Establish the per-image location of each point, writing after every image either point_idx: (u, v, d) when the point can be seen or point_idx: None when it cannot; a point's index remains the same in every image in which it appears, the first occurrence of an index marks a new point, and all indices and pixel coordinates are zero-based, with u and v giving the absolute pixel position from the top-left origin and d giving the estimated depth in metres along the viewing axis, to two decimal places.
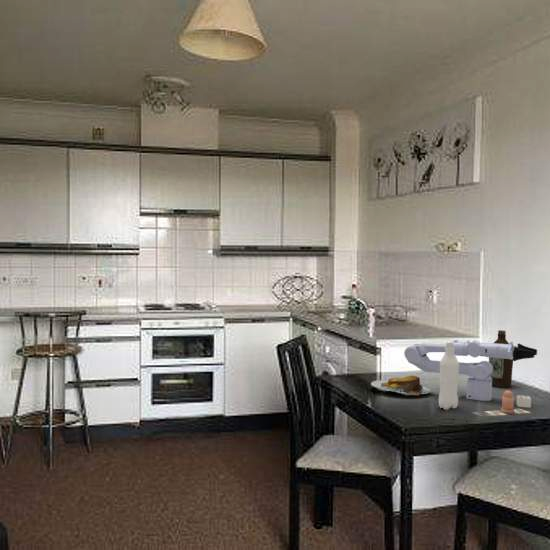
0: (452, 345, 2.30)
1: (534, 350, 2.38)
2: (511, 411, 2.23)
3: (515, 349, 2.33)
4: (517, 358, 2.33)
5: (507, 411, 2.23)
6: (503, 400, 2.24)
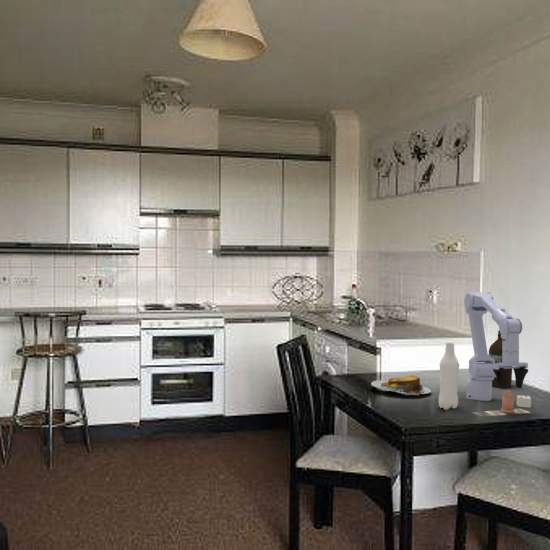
0: (452, 345, 2.30)
1: (519, 385, 2.25)
2: (511, 411, 2.23)
3: (501, 372, 2.21)
4: (495, 372, 2.24)
5: (507, 411, 2.23)
6: (503, 400, 2.24)
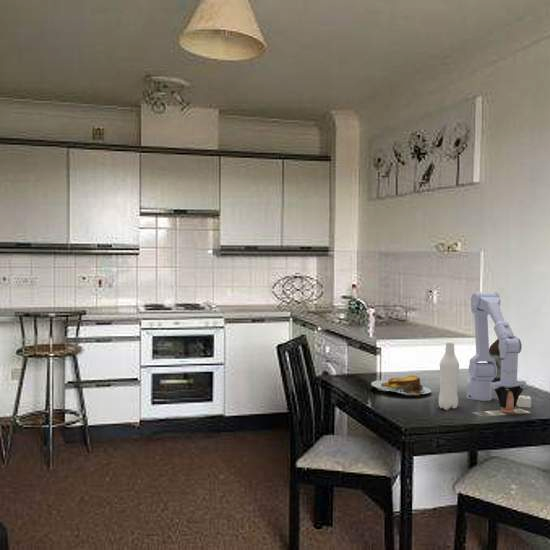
0: (452, 345, 2.30)
1: None
2: (511, 411, 2.23)
3: (501, 391, 2.22)
4: (496, 391, 2.25)
5: (507, 411, 2.23)
6: None
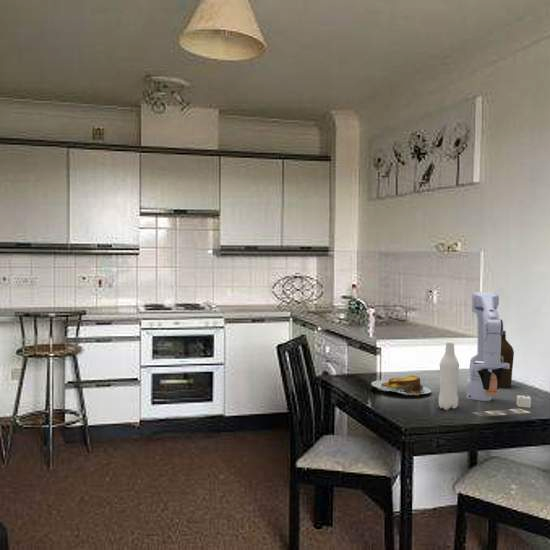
0: (452, 345, 2.30)
1: None
2: (494, 393, 2.20)
3: (484, 373, 2.18)
4: (479, 373, 2.22)
5: (490, 393, 2.20)
6: None
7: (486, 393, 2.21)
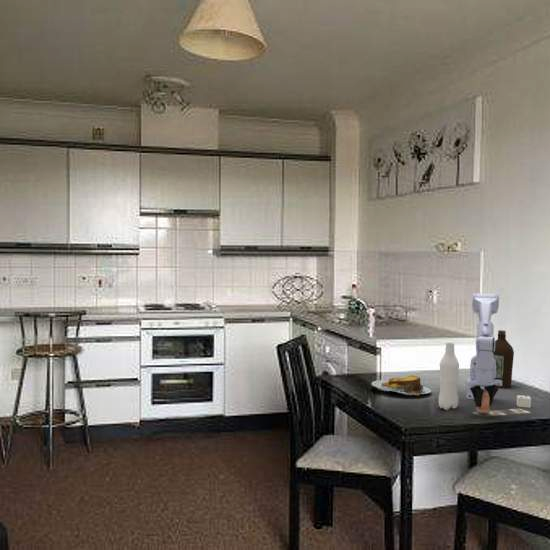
0: (452, 345, 2.30)
1: (489, 404, 2.21)
2: (487, 410, 2.19)
3: (477, 390, 2.18)
4: (471, 390, 2.21)
5: (482, 410, 2.19)
6: None
7: (478, 410, 2.20)
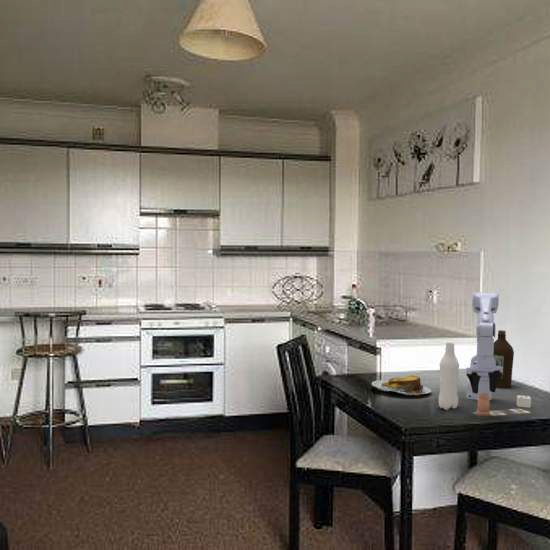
0: (452, 345, 2.30)
1: (492, 390, 2.22)
2: (486, 413, 2.19)
3: (473, 376, 2.17)
4: (468, 376, 2.20)
5: (482, 413, 2.19)
6: (478, 402, 2.21)
7: (478, 413, 2.20)
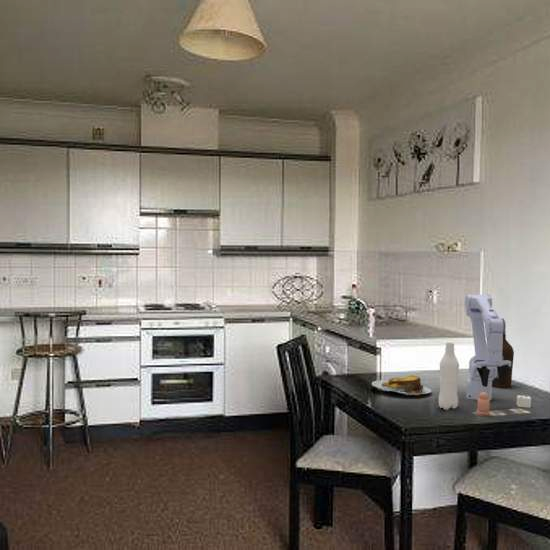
0: (452, 345, 2.30)
1: (501, 383, 2.31)
2: (486, 413, 2.19)
3: (483, 370, 2.27)
4: (478, 370, 2.30)
5: (482, 413, 2.19)
6: (478, 402, 2.21)
7: (478, 413, 2.20)
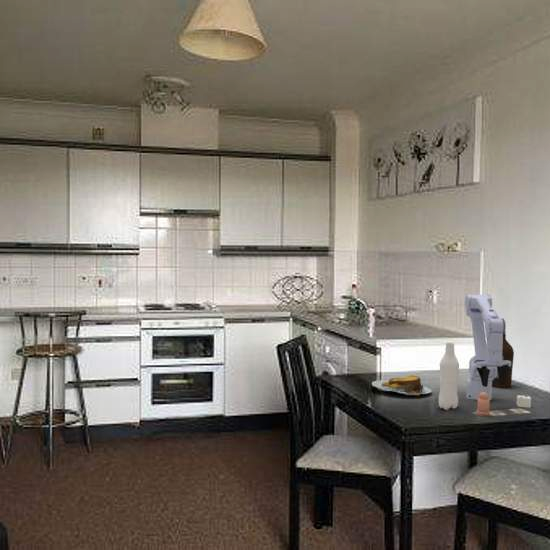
0: (452, 345, 2.30)
1: (501, 383, 2.31)
2: (486, 413, 2.19)
3: (483, 370, 2.27)
4: (478, 370, 2.30)
5: (482, 413, 2.19)
6: (478, 402, 2.21)
7: (478, 413, 2.20)
